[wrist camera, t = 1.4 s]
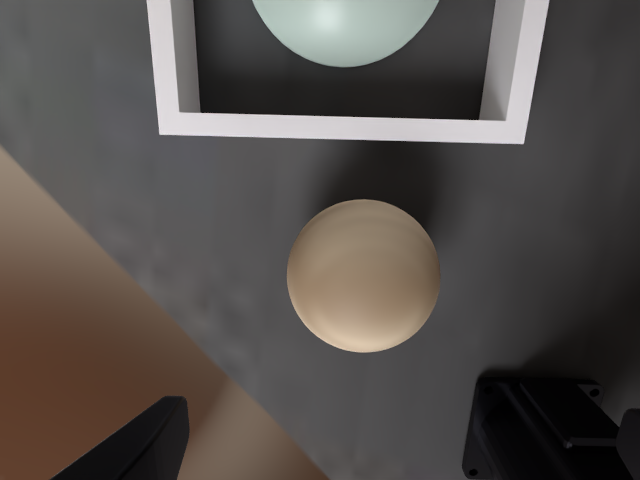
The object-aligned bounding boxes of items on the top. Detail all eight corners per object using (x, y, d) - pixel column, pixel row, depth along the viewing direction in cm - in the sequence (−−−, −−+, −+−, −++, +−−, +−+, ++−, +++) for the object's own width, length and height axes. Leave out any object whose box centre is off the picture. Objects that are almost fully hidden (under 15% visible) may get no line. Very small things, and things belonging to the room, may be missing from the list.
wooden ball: (412, 308, 19) (451, 389, 13) (292, 305, 19) (279, 384, 13) (425, 189, 17) (477, 222, 11) (293, 186, 17) (278, 217, 11)
